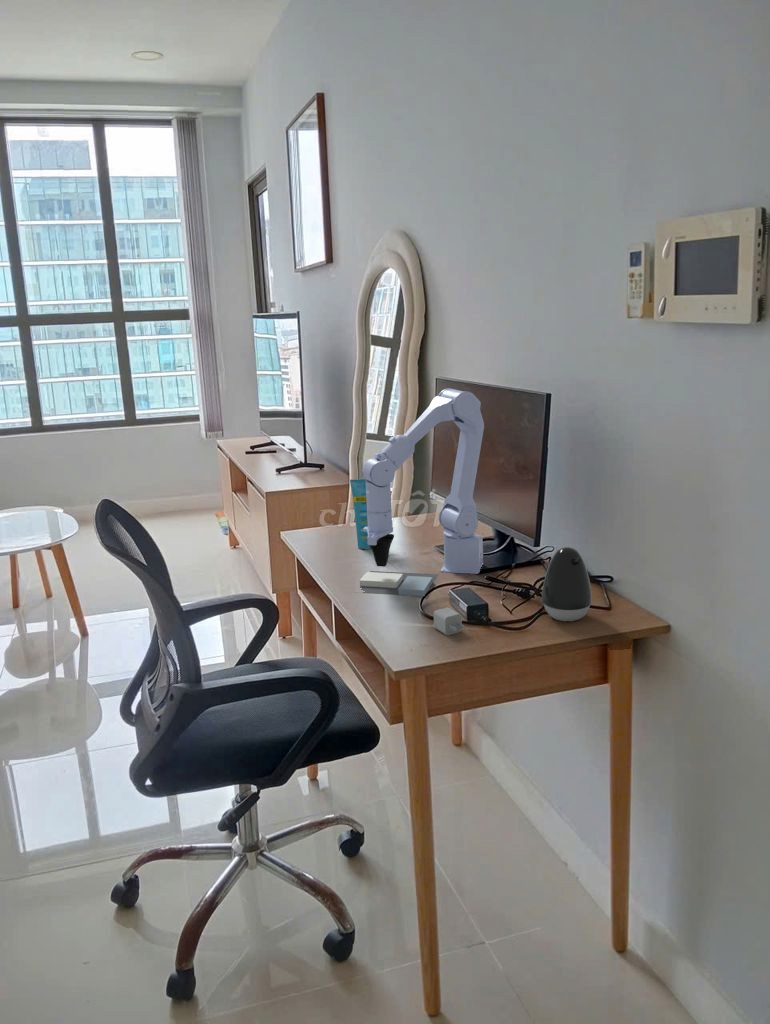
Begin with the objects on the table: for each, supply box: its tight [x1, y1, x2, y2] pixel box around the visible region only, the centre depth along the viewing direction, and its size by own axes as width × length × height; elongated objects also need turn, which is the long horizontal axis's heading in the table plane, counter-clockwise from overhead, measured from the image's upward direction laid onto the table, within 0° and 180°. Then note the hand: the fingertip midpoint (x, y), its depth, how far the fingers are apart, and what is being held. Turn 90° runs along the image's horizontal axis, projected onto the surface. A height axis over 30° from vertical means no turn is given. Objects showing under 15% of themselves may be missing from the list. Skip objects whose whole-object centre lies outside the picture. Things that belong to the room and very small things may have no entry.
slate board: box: [397, 576, 434, 597], centre depth 196 cm, size 9×6×1 cm, turn 164°
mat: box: [360, 570, 439, 597], centre depth 201 cm, size 17×15×1 cm
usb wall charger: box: [433, 606, 466, 636], centre depth 172 cm, size 4×7×4 cm, turn 28°
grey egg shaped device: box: [541, 546, 593, 622], centre depth 175 cm, size 10×10×15 cm
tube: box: [349, 478, 372, 550], centre depth 228 cm, size 7×5×19 cm, turn 103°
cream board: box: [359, 571, 403, 588], centre depth 201 cm, size 9×1×6 cm
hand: (381, 565), depth 201 cm, fingers closed
